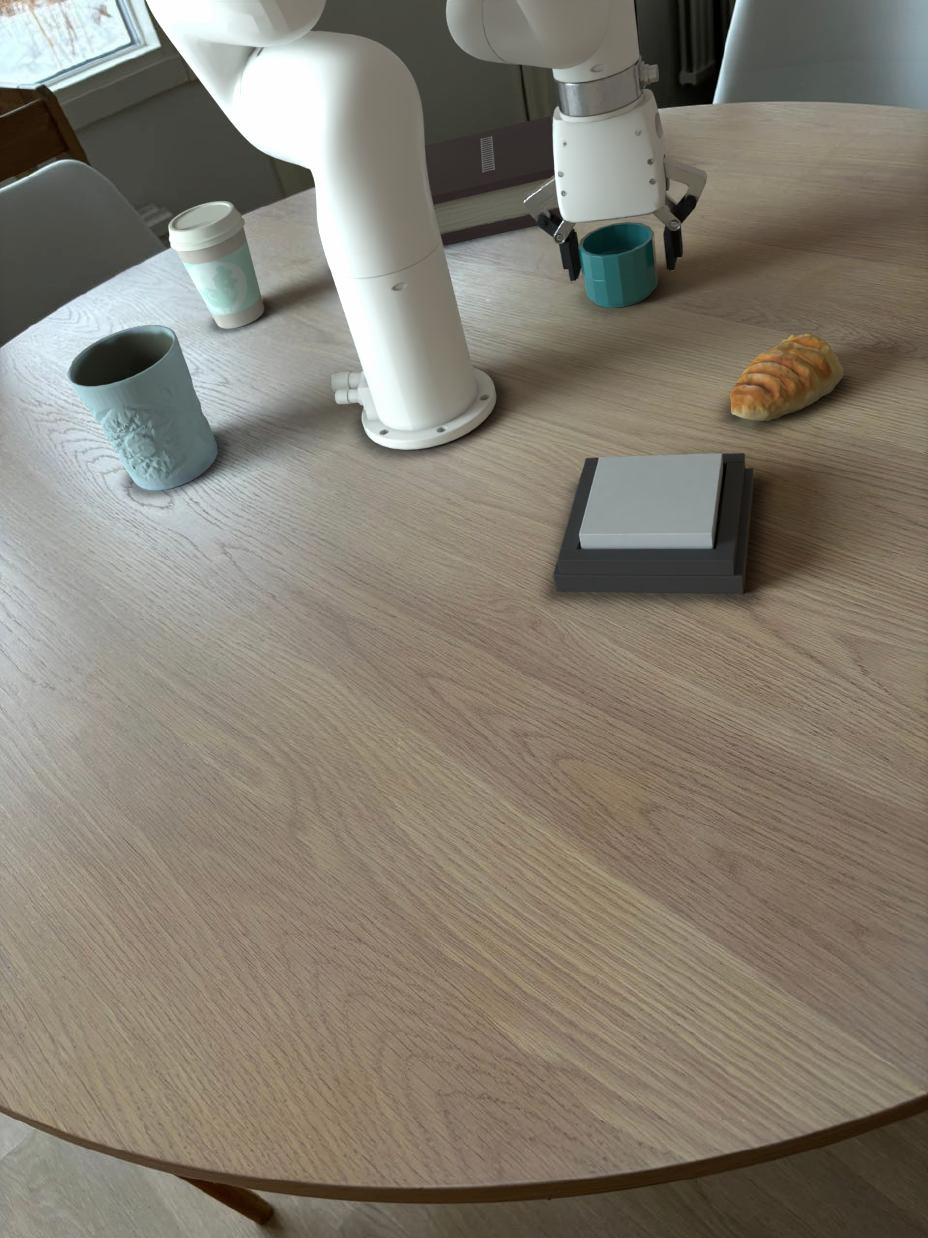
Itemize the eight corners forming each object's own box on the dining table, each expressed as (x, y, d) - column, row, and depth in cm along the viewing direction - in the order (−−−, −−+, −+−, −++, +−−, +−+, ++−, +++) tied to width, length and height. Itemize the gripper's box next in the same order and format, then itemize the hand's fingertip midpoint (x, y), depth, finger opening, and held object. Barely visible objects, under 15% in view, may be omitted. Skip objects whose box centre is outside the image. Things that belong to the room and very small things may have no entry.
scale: (555, 591, 72) (549, 560, 70) (583, 488, 80) (578, 457, 78) (743, 594, 68) (742, 561, 66) (753, 484, 76) (752, 451, 74)
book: (556, 158, 132) (549, 110, 128) (569, 217, 118) (561, 166, 114) (350, 205, 136) (337, 161, 132) (338, 268, 122) (323, 220, 118)
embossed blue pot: (192, 423, 102) (141, 315, 94) (247, 451, 96) (197, 337, 88) (107, 477, 98) (46, 369, 90) (159, 510, 92) (99, 396, 84)
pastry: (774, 438, 80) (773, 396, 77) (708, 413, 84) (705, 372, 82) (849, 382, 83) (851, 340, 80) (782, 360, 87) (781, 320, 85)
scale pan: (581, 551, 71) (578, 534, 70) (601, 473, 77) (599, 456, 76) (713, 551, 68) (712, 533, 67) (723, 470, 74) (722, 452, 73)
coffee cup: (192, 335, 117) (148, 235, 109) (229, 298, 123) (190, 200, 115) (252, 335, 114) (211, 232, 106) (288, 297, 119) (252, 196, 111)
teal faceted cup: (581, 312, 101) (573, 259, 97) (592, 278, 106) (585, 226, 102) (653, 307, 99) (648, 252, 95) (662, 271, 103) (657, 218, 100)
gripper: (703, 56, 89) (715, 241, 101) (514, 88, 95) (546, 260, 106) (695, 88, 84) (709, 279, 96) (496, 120, 90) (532, 296, 101)
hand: (623, 269), depth 101 cm, fingers open, 9 cm apart
